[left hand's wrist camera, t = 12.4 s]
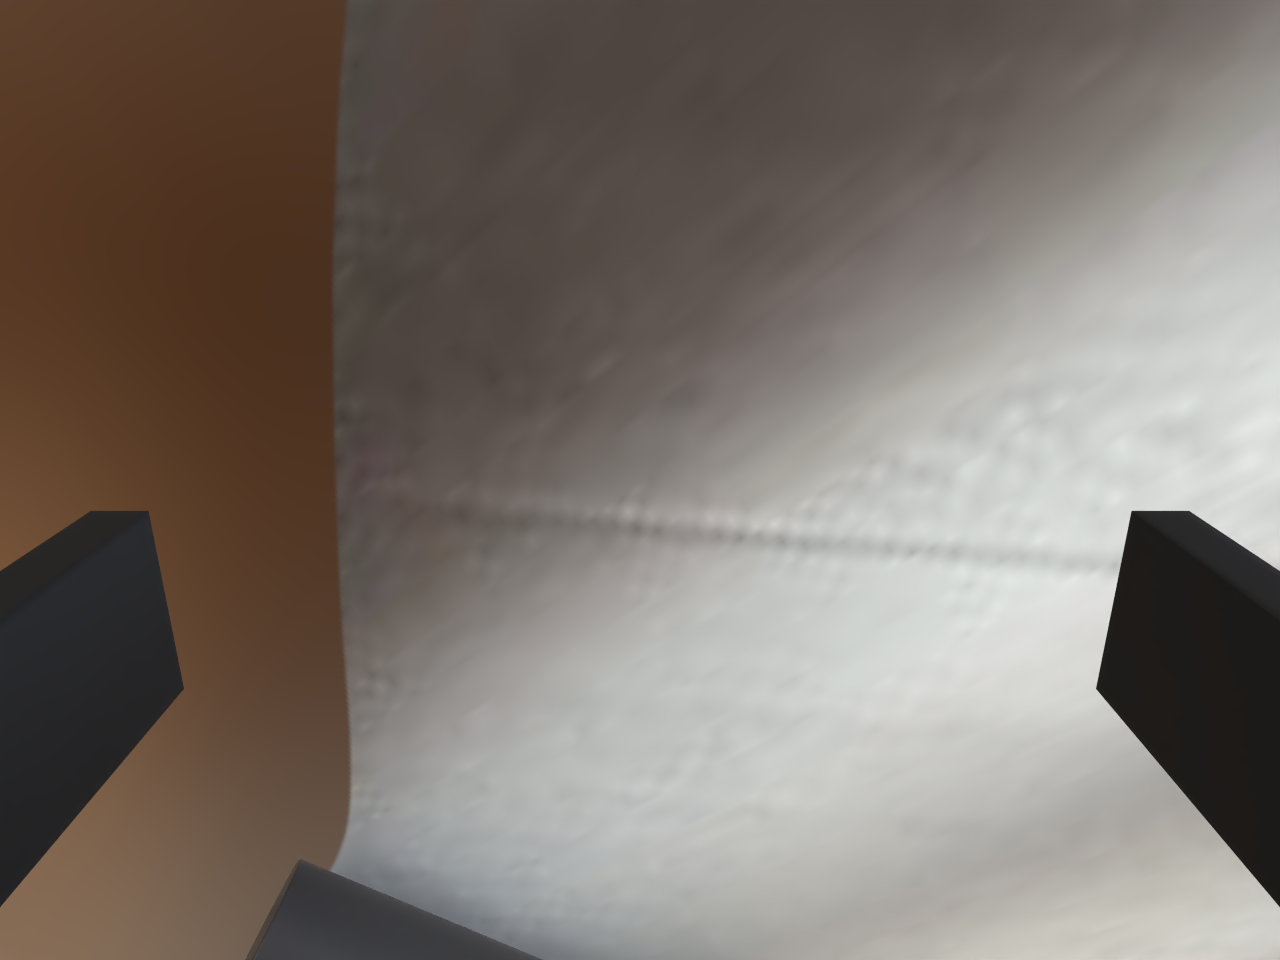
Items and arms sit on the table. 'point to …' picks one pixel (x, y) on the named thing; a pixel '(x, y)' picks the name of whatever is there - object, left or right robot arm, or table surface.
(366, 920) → the rod
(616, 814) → the table surface
